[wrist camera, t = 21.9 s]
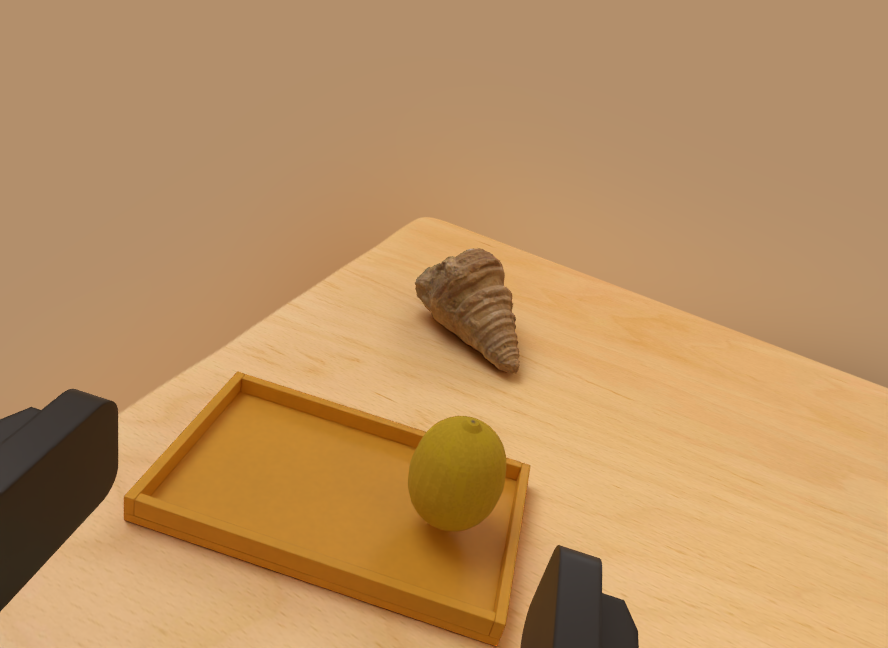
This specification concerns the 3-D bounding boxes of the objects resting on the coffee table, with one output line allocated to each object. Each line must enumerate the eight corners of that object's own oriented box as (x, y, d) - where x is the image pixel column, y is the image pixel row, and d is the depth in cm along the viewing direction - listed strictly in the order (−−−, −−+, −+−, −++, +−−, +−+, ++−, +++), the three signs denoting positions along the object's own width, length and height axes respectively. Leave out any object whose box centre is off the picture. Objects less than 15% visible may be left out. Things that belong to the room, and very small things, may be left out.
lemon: (381, 501, 43) (406, 398, 39) (456, 483, 46) (487, 385, 42) (423, 571, 39) (457, 464, 35) (503, 546, 42) (542, 444, 38)
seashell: (489, 406, 63) (558, 359, 65) (496, 371, 56) (574, 320, 58) (403, 295, 68) (470, 254, 70) (400, 250, 61) (475, 206, 63)
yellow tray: (123, 520, 38) (123, 496, 37) (235, 391, 50) (237, 371, 49) (496, 647, 37) (505, 625, 36) (523, 484, 48) (530, 464, 47)
